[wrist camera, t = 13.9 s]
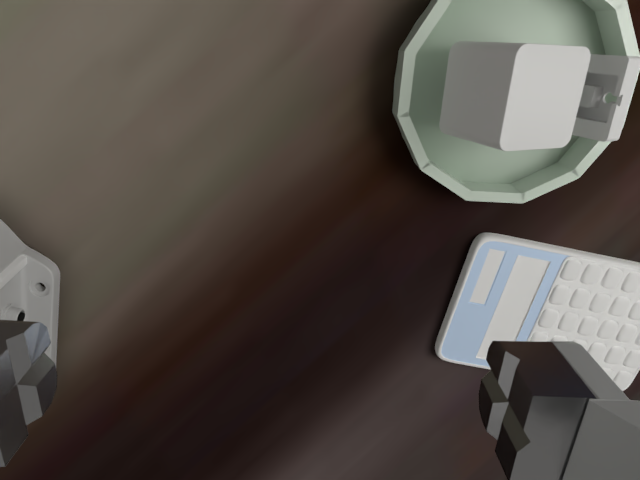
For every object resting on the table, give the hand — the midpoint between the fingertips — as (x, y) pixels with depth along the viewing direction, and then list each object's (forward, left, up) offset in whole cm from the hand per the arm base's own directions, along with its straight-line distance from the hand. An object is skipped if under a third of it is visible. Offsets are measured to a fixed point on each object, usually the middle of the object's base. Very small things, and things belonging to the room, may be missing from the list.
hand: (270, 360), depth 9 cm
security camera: (+3, -20, -29) cm, 35 cm away
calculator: (-17, -24, -32) cm, 43 cm away
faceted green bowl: (+3, -15, -31) cm, 35 cm away
